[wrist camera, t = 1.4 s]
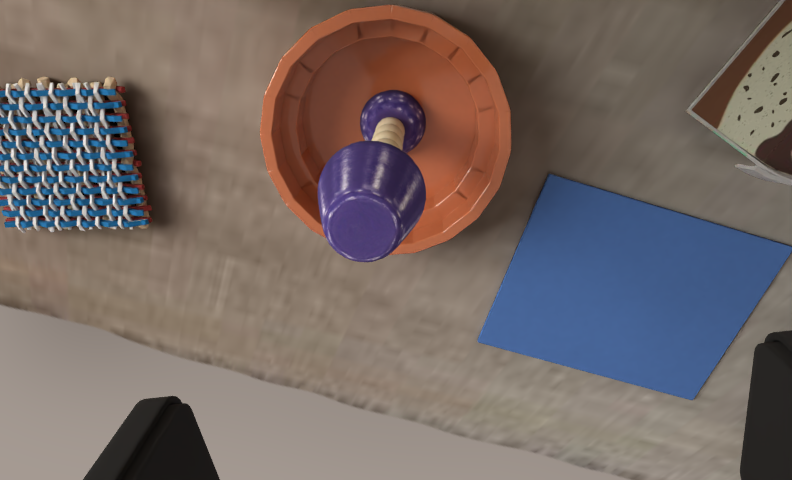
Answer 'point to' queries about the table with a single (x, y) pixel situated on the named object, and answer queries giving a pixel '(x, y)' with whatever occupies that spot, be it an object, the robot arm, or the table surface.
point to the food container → (756, 99)
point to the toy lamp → (375, 181)
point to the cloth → (628, 288)
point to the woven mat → (68, 158)
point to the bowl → (376, 72)
